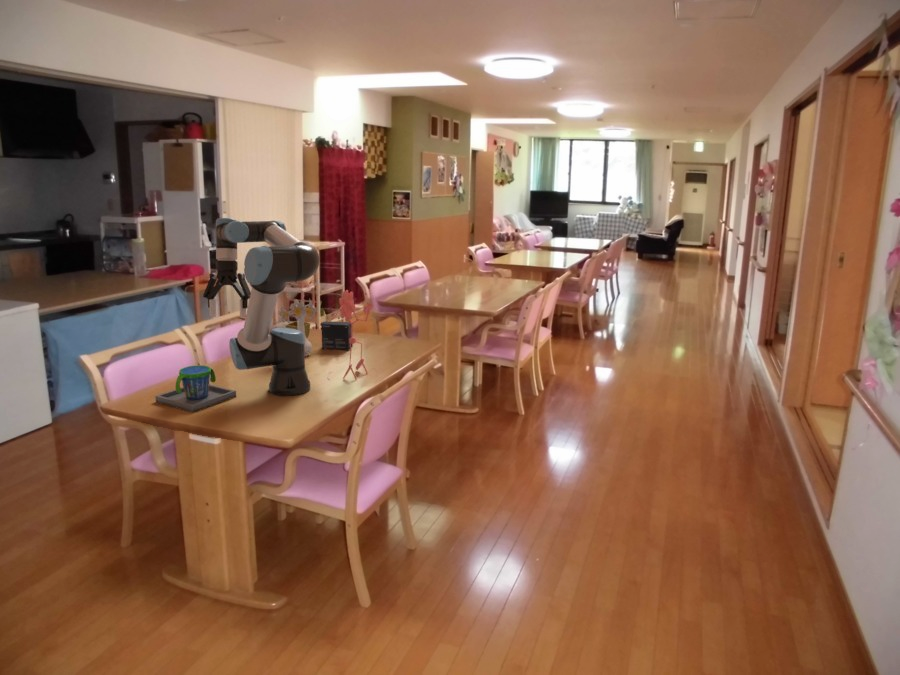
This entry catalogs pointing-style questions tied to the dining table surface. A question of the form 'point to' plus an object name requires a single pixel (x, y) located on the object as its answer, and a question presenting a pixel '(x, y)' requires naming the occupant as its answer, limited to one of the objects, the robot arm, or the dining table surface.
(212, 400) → the cup tray
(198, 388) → the snack cup
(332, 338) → the small box
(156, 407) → the dining table surface
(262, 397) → the dining table surface
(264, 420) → the dining table surface
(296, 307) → the flower vase
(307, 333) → the flower pot
